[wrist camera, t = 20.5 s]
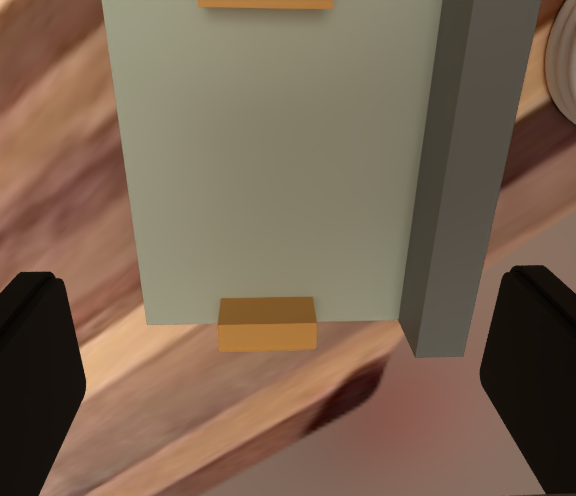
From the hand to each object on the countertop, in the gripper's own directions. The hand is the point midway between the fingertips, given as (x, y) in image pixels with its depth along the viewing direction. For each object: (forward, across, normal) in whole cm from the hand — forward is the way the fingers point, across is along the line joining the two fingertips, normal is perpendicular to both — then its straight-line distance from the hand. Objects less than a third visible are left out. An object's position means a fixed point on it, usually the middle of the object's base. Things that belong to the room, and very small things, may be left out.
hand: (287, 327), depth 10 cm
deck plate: (+20, -2, +2) cm, 21 cm away
